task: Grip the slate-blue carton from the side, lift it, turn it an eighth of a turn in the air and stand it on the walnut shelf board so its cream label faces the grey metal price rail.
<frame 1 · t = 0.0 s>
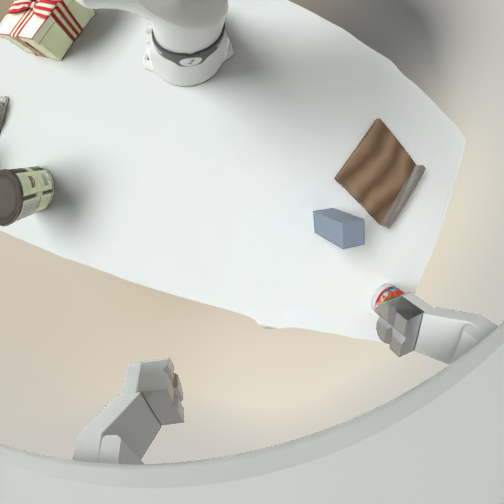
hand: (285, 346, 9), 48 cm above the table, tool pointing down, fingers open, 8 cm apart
carton: (323, 220, 61), on the table
coffee can: (37, 189, 45), on the table
gift box: (60, 27, 33), on the table
fruit juice: (382, 297, 73), on the table
shelf board: (379, 171, 60), on the table
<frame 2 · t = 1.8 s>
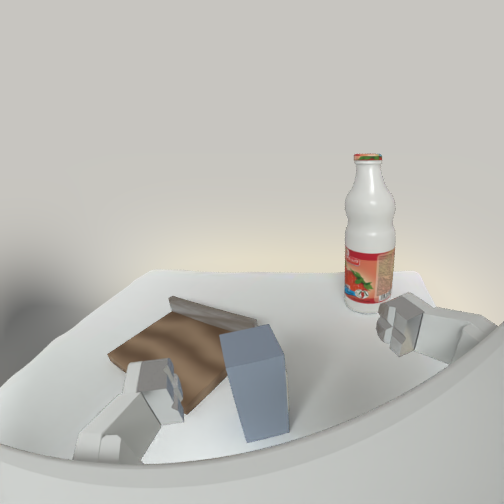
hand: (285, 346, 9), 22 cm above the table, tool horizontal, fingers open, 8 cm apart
carton: (263, 422, 28), on the table
fruit juice: (366, 302, 50), on the table
shelf board: (180, 354, 42), on the table
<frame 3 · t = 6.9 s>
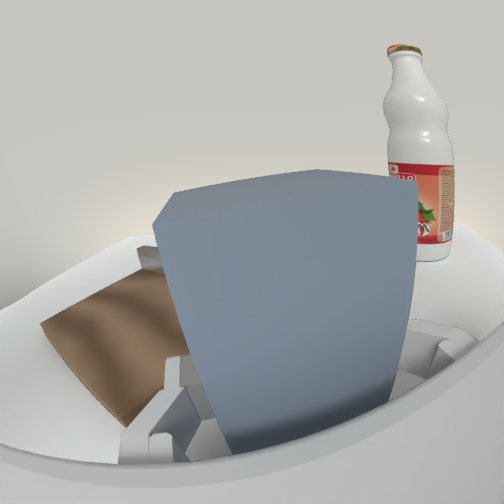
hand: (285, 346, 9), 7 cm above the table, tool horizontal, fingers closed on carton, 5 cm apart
carton: (296, 454, 11), on the table, touching gripper
fruit juice: (420, 251, 33), on the table
shelf board: (142, 324, 25), on the table
when the fingers open (9 cm above the table, at t = 18.0 s): carton stays where it is, resting on shelf board.
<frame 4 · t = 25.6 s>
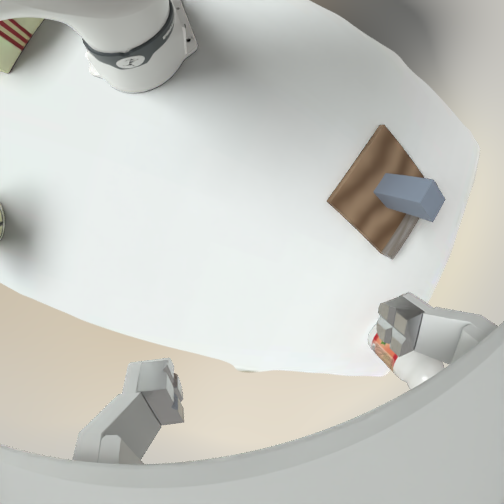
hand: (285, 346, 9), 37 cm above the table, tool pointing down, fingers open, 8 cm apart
carton: (386, 190, 48), point 1 cm above the table, touching shelf board
gift box: (12, 34, 22), on the table
fruit juice: (380, 332, 62), on the table
shelf board: (382, 190, 50), on the table
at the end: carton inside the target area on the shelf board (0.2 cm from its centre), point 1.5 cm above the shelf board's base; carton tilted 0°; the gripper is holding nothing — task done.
